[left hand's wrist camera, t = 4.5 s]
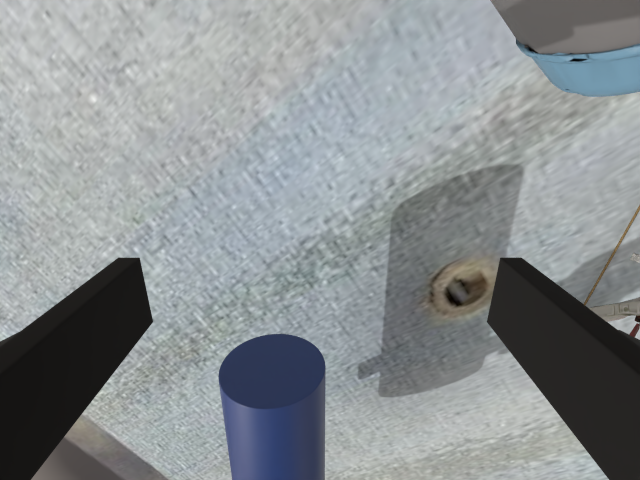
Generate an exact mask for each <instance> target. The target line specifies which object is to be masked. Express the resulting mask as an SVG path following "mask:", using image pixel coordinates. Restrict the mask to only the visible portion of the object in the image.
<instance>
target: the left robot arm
mask: <svg viewBox="0 0 640 480" xmlns="http://www.w3.org/2000/svg"><path fill="white" fill-rule="evenodd" d="M491 2H492V3H493V5H494V6H495V8H496V9H497V11H498V12H499V14H500V15H501V17H502V18H503V20H504V21H505V22H506V24H507V25H508V27H509V28H510V30H511V31H512V33H513V34H514V36H515V37H516V44H517V46H518V47H519V49H520V50H521V51H522V52H523V53H524V54H526V55H527V56H529V57H532V59H533V60H534V61H535V62H536V64H537V65H538V66H539V68H540V69H541V70H542V71H543V73H544V74H545V75H546V76H547V78H548V79H549V80H550V81H551V82H552V84H554V85H555V86H556V87H558V88H559V89H561V90H563V91H565V92H570V93H577V94H581V95H583V96H591V97H601V96H615V95H623V94H629V93H635V92H640V0H491ZM152 322H153V320H152V315H151V310H150V305H149V301H148V296H147V291H146V286H145V281H144V277H143V272H142V267H141V262H140V258H118V259H116V260H115V261H114V262H112V263H111V264H110V265H108V266H107V267H106V268H104V269H103V270H102V271H100V272H99V273H98V274H96V275H95V276H94V277H92V278H91V279H90V280H88V281H87V282H86V283H84V284H83V285H82V286H80V287H79V288H78V289H76V290H75V291H74V292H72V293H71V294H70V295H68V296H67V297H66V298H64V299H63V300H62V301H60V302H59V303H58V304H56V305H55V306H54V307H52V308H51V309H50V310H48V311H47V312H46V313H44V314H43V315H42V316H40V317H39V318H38V319H36V320H35V321H34V322H32V323H31V324H30V325H29V326H27V327H26V328H25V329H23V330H22V331H20V332H18V333H16V334H14V335H12V336H11V337H9V338H7V339H5V340H3V341H1V342H0V480H31V479H32V477H33V476H34V475H35V473H36V472H37V471H38V470H39V468H40V467H41V466H42V464H43V463H44V462H45V461H46V459H47V458H48V457H49V455H50V454H51V453H52V452H53V450H54V449H55V448H56V446H57V445H58V444H59V443H60V441H61V440H62V439H63V437H64V436H65V435H66V433H67V432H68V431H69V430H70V428H71V427H72V426H73V424H74V423H75V422H76V421H77V419H78V418H79V417H80V415H81V414H82V413H83V412H84V410H85V409H86V408H87V406H88V405H89V404H90V402H91V401H92V400H93V399H94V397H95V396H96V395H97V393H98V392H99V391H100V390H101V388H102V387H103V386H104V384H105V383H106V382H107V381H108V379H109V378H110V377H111V375H112V374H113V373H114V372H115V370H116V369H117V368H118V366H119V365H120V364H121V362H122V361H123V360H124V359H125V357H126V356H127V355H128V353H129V352H130V351H131V350H132V348H133V347H134V346H135V344H136V343H137V342H138V341H139V339H140V338H141V337H142V335H143V334H144V333H145V331H146V330H147V329H148V328H149V326H150V325H151V324H152ZM487 322H488V324H489V325H490V326H491V328H492V329H493V330H494V331H495V333H496V334H497V335H498V337H499V338H500V339H501V341H502V342H503V343H504V344H505V346H506V347H507V348H508V350H509V351H510V352H511V353H512V355H513V356H514V357H515V359H516V360H517V361H518V362H519V364H520V365H521V366H522V368H523V369H524V370H525V372H526V373H527V374H528V375H529V377H530V378H531V379H532V381H533V382H534V383H535V384H536V386H537V387H538V388H539V390H540V391H541V392H542V393H543V395H544V396H545V397H546V399H547V400H548V401H549V402H550V404H551V405H552V406H553V408H554V409H555V410H556V412H557V413H558V414H559V415H560V417H561V418H562V419H563V421H564V422H565V423H566V424H567V426H568V427H569V428H570V430H571V431H572V432H573V433H574V435H575V436H576V437H577V439H578V440H579V441H580V443H581V444H582V445H583V446H584V448H585V449H586V450H587V452H588V453H589V454H590V455H591V457H592V458H593V459H594V461H595V462H596V463H597V464H598V466H599V467H600V468H601V470H602V471H603V472H604V473H605V475H606V476H607V477H608V479H609V480H640V340H638V339H636V338H634V337H632V336H630V335H628V334H626V333H625V332H623V331H621V330H617V329H615V328H614V327H613V326H611V325H610V324H609V323H608V322H606V321H605V320H604V319H602V318H601V317H600V316H598V315H597V314H596V313H594V312H593V311H592V310H590V309H589V308H588V307H586V306H585V305H584V304H582V303H581V302H580V301H578V300H577V299H576V298H574V297H573V296H572V295H570V294H569V293H568V292H566V291H565V290H564V289H562V288H561V287H560V286H558V285H557V284H556V283H554V282H553V281H552V280H550V279H549V278H548V277H546V276H545V275H544V274H542V273H541V272H540V271H538V270H537V269H536V268H534V267H533V266H532V265H530V264H529V263H528V262H526V261H525V260H524V259H522V258H500V262H499V267H498V272H497V277H496V281H495V286H494V291H493V296H492V301H491V305H490V310H489V315H488V320H487Z"/></svg>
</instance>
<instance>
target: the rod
mask: <svg viewBox="0 0 640 480" xmlns="http://www.w3.org/2000/svg"><path fill="white" fill-rule="evenodd" d="M219 385H220V393H221V400H222V407H223V415H224V422H225V429H226V437H227V444H228V451H229V459H230V466H231V473H232V480H325V361H324V358H323V356H322V354H321V352H320V351H319V349H318V348H317V347H316V346H315V345H313V344H312V343H310V342H309V341H307V340H305V339H303V338H300V337H297V336H292V335H286V334H271V335H265V336H260V337H256V338H253V339H251V340H248V341H246V342H244V343H242V344H241V345H239V346H237V347H236V348H235V349H233V350H232V351H231V352H230V353H229V354H228V355H227V356H226V358H225V359H224V361H223V363H222V365H221V367H220V370H219Z"/></svg>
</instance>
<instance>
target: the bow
mask: <svg viewBox="0 0 640 480" xmlns="http://www.w3.org/2000/svg"><path fill="white" fill-rule="evenodd" d="M639 210H640V205H639V207H638V209H637V211H636V213H635V214H634V216H633V218H632V220H631V221H630V223H629V225H628V227H627V228H626V230H625V232H624V234H623V236H622V237H621V239H620V241H619V243H618V244H617V246H616V248H615V250H614V251H613V253H612V255H611V257H610V259H609V260H608V262H607V264H606V266H605V267H604V269H603V271H602V273H601V274H600V276H599V278H598V280H597V282H596V283H595V285H594V287H593V289H592V290H591V292H590V294H589V296H588V297H587V299H586V301H585V303H584V305H586V303H587V302H588V300H589V298H590V296H591V294H592V293H593V291H594V289H595V287H596V286H597V284H598V282H599V280H600V279H601V277H602V275H603V273H604V272H605V270H606V268H607V266H608V265H609V263H610V261H611V259H612V258H613V256H614V254H615V252H616V250H617V249H618V247H619V245H620V243H621V242H622V240H623V238H624V236H625V235H626V233H627V231H628V229H629V228H630V226H631V224H632V222H633V221H634V219H635V217H636V215H637V213H638V212H639ZM630 260H632V261H636V262H638V263H640V255H638V254H635V253H633V255H632V257H631V259H630ZM589 309H590V310H592V311H593V312H594V313H596V314H597V315H598V316H600V317H601V318H602V319H604V320H605V321H606V322H608V321H613V320H618V319H622V318H625V317H627V316H630V315H636V318H635V321H637V322H640V297H639V298H636V299H632V300H628V301H625V302H621V303H616V304H610V305H604V306H595V307H593V308H589ZM639 327H640V323H639V324H636V326H635V327H634V329H633V330H632V332H631V333H630V336H632V337H635V335H636V334H637V332H638V330H639Z"/></svg>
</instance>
